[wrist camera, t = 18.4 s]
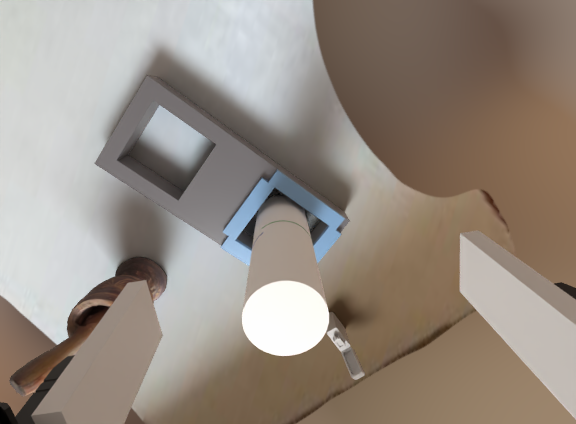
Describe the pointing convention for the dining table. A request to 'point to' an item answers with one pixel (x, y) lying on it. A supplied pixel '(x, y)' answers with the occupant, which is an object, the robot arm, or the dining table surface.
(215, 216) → the socket rack
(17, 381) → the mortar and pestle
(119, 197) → the dining table surface
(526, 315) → the robot arm
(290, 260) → the cylindrical container
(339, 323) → the lighter
